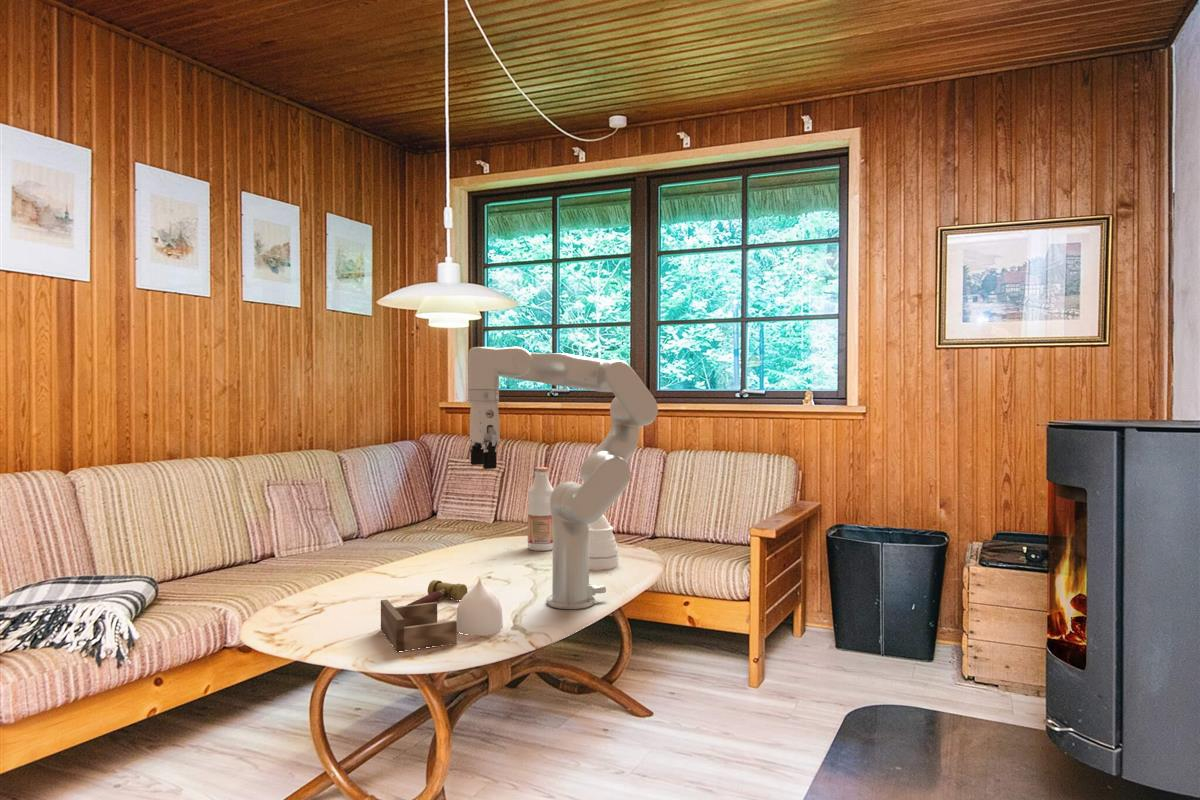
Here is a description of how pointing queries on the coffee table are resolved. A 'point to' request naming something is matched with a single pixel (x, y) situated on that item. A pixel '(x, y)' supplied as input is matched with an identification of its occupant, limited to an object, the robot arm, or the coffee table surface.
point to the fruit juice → (540, 512)
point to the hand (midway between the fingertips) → (483, 466)
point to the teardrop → (479, 612)
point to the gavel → (442, 592)
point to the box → (415, 626)
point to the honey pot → (602, 545)
